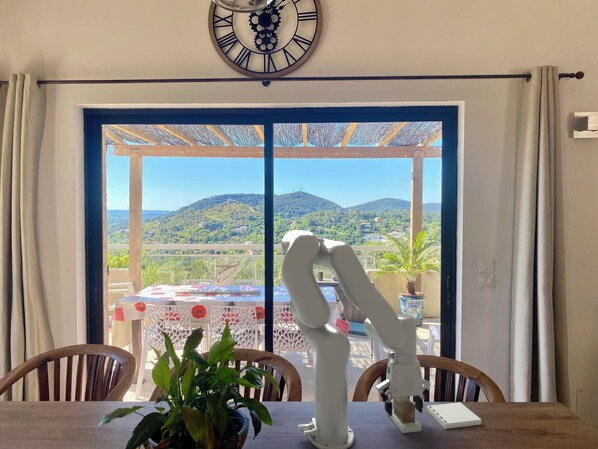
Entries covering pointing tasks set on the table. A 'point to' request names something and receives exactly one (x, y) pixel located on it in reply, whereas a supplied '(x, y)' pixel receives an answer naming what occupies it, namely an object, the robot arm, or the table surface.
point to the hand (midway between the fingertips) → (403, 412)
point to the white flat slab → (453, 415)
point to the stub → (405, 415)
